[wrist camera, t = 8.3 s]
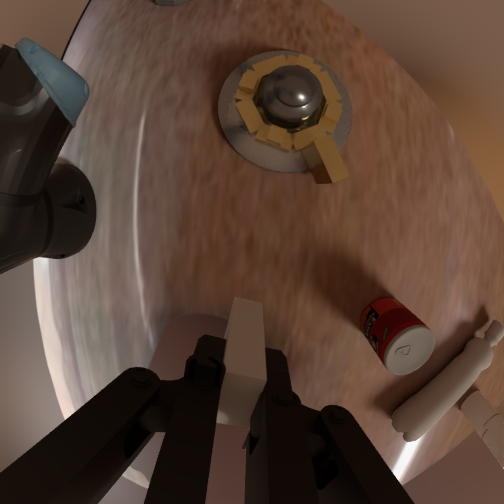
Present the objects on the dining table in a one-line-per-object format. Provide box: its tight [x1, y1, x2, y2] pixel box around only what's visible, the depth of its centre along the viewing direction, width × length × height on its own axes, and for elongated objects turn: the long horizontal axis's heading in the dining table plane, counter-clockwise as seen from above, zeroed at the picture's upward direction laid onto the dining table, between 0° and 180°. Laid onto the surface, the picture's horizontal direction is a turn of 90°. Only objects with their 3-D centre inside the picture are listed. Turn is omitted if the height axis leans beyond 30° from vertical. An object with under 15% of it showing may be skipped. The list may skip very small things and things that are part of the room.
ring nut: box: [235, 54, 349, 184], centre depth 29 cm, size 12×17×8 cm
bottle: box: [391, 320, 504, 442], centre depth 40 cm, size 9×9×30 cm
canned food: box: [360, 297, 435, 375], centre depth 35 cm, size 8×8×11 cm
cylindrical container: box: [461, 391, 504, 469], centre depth 34 cm, size 7×7×25 cm
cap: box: [218, 51, 352, 173], centre depth 29 cm, size 18×18×9 cm
